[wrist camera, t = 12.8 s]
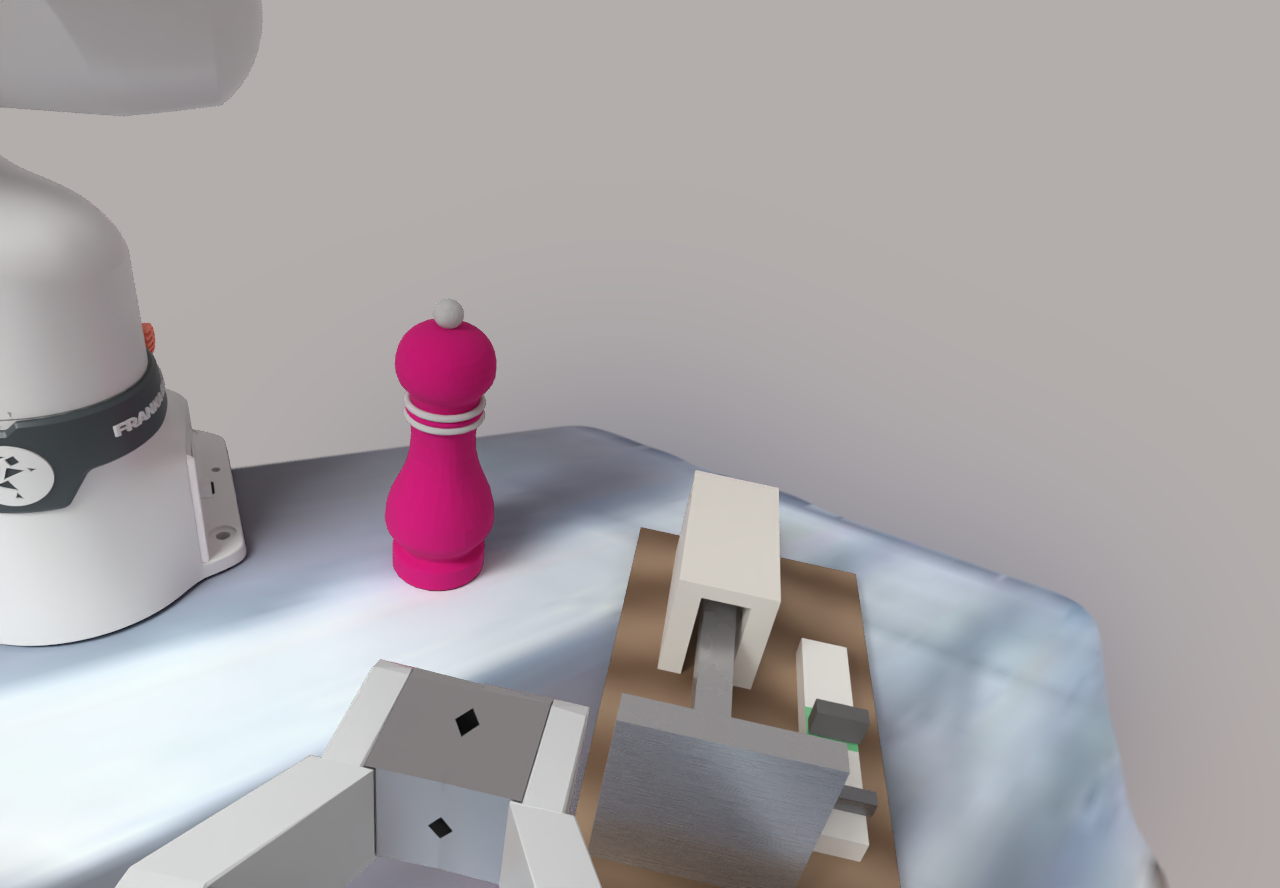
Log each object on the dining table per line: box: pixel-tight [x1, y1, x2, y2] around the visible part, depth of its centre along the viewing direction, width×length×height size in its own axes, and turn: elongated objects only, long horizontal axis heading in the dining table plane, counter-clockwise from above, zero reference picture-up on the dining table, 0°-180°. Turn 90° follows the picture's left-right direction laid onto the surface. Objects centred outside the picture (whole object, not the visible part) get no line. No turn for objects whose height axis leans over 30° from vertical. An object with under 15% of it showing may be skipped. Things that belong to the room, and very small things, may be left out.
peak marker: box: [808, 698, 870, 745], centre depth 46 cm, size 1×3×2 cm, turn 81°
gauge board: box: [575, 527, 901, 888], centre depth 50 cm, size 30×17×1 cm, turn 172°
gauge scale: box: [796, 638, 869, 862], centre depth 47 cm, size 14×3×2 cm, turn 172°
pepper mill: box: [385, 299, 496, 591], centre depth 52 cm, size 7×7×20 cm
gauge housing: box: [657, 470, 781, 690], centre depth 54 cm, size 12×6×8 cm, turn 172°
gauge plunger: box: [588, 598, 878, 888], centre depth 45 cm, size 20×14×10 cm
